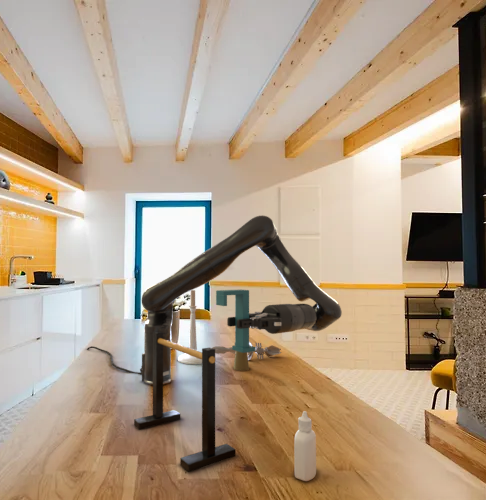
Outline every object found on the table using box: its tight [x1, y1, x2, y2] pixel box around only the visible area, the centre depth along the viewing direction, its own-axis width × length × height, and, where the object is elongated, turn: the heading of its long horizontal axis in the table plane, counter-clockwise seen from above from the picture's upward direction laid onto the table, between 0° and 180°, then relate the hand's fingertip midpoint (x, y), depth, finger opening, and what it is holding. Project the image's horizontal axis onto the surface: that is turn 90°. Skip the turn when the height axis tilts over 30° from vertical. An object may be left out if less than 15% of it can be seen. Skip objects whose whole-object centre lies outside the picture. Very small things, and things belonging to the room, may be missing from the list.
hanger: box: [215, 289, 256, 353], centre depth 92 cm, size 10×4×15 cm, turn 121°
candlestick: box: [177, 289, 202, 365], centre depth 160 cm, size 13×13×30 cm
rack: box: [133, 331, 237, 473], centre depth 88 cm, size 12×25×23 cm, turn 31°
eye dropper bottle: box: [293, 410, 317, 482], centre depth 73 cm, size 4×6×12 cm
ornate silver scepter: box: [212, 341, 282, 361], centre depth 160 cm, size 8×35×8 cm
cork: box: [233, 351, 250, 372], centre depth 147 cm, size 6×6×11 cm
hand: (233, 323), depth 92 cm, fingers closed on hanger, 3 cm apart
